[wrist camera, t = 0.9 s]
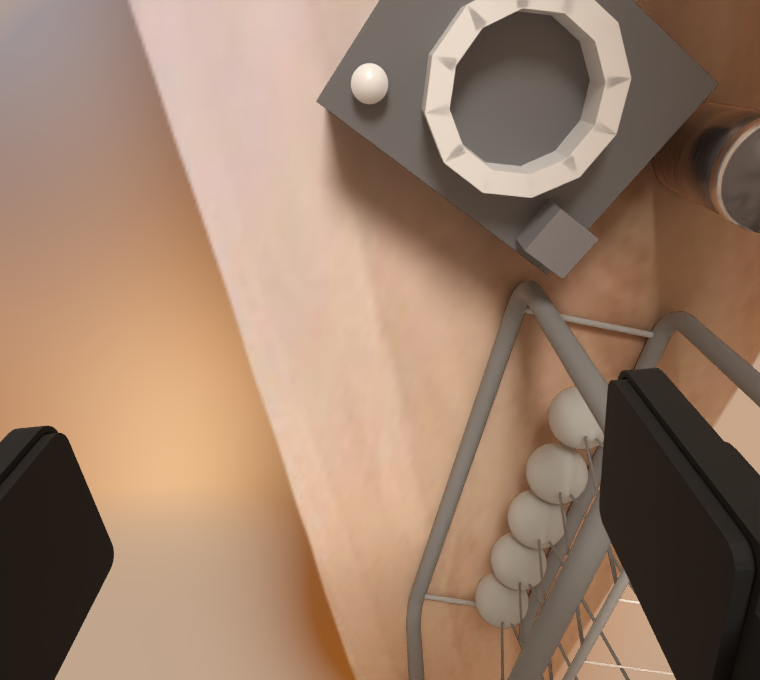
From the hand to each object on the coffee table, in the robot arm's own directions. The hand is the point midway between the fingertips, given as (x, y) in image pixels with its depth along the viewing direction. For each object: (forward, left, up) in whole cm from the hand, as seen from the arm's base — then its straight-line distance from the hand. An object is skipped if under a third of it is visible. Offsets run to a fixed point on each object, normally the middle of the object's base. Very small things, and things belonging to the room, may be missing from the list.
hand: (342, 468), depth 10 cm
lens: (-12, +14, -25) cm, 31 cm away
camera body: (-8, +3, -25) cm, 26 cm away
